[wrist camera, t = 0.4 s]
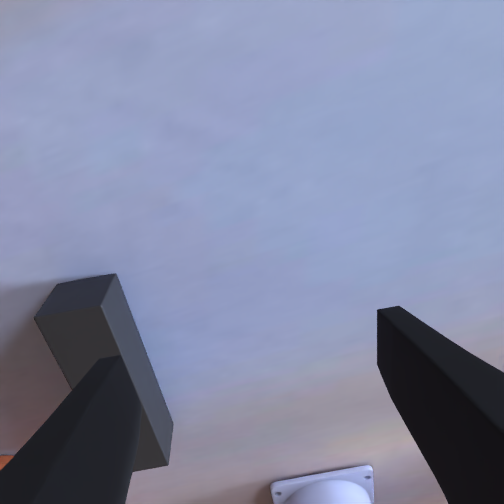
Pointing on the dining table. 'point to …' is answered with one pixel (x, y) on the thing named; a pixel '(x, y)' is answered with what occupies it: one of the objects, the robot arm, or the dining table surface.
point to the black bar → (107, 352)
